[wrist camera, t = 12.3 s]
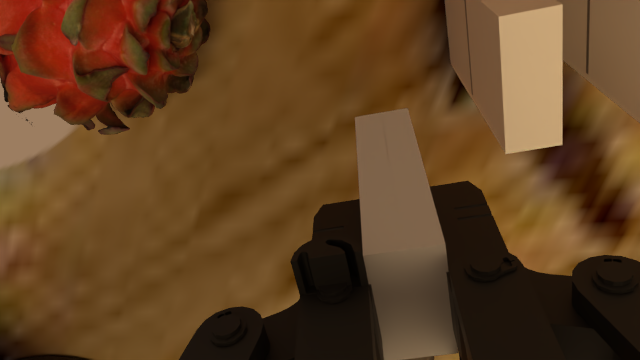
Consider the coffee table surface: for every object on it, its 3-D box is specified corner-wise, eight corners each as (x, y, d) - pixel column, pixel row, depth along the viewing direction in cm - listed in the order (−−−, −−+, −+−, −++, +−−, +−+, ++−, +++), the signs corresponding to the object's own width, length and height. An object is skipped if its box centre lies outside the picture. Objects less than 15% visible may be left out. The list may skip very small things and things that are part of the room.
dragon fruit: (244, -38, 30) (80, 58, 34) (119, -172, 22) (-67, -30, 27) (263, 97, 26) (77, 185, 30) (121, -14, 19) (-94, 121, 23)
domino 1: (450, 63, 30) (505, 154, 21) (441, -34, 28) (498, 16, 18) (488, 56, 30) (562, 144, 20) (482, -42, 28) (562, 4, 18)
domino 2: (545, 46, 30) (647, 130, 20) (544, -55, 27) (659, -15, 18) (585, 38, 29) (708, 120, 20) (587, -64, 27) (728, -29, 17)
